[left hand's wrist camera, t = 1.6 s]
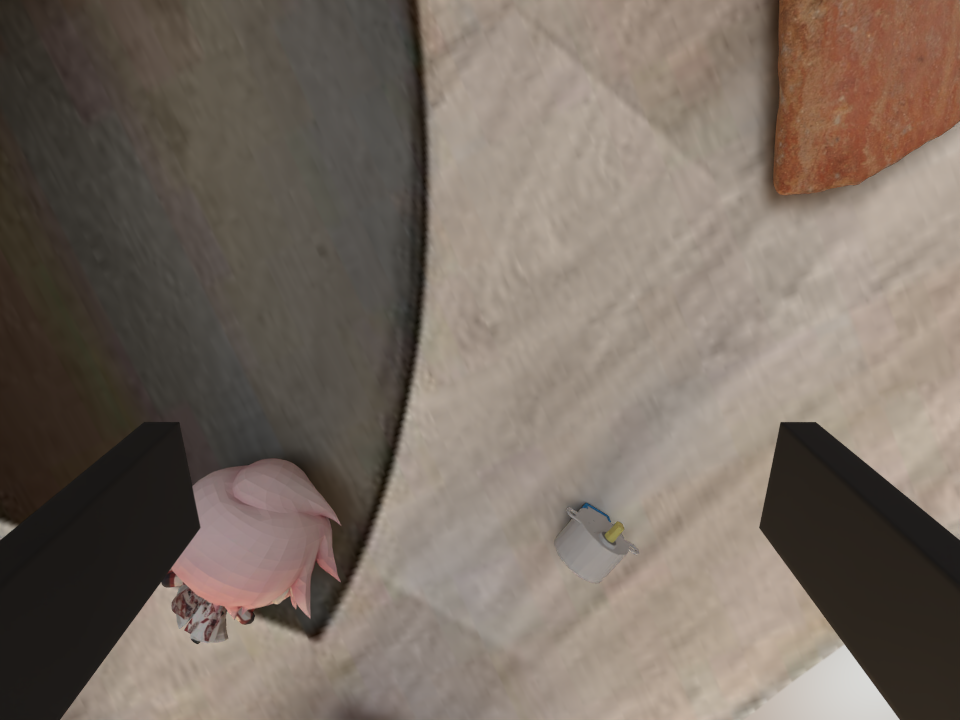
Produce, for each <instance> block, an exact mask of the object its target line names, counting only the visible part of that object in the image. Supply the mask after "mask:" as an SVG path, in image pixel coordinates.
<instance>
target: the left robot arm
mask: <svg viewBox="0 0 960 720" xmlns="http://www.w3.org/2000/svg"><path fill="white" fill-rule="evenodd" d="M200 528H201V527H200V522H199V517H198V512H197V507H196V502H195V497H194V492H193V488H192V483H191V478H190V473H189V468H188V463H187V458H186V453H185V448H184V443H183V438H182V433H181V428H180V423H179V422H144V423H143V424H141V425H140V426H139V427H138V428H137V429H135V430H134V431H133V432H132V433H130V434H129V435H128V436H127V437H126V438H124V439H123V440H122V441H121V442H120V443H118V444H117V445H116V446H115V447H113V448H112V449H111V450H110V451H109V452H107V453H106V454H105V455H104V456H102V457H101V458H100V459H99V460H98V461H96V462H95V463H94V464H93V465H91V466H90V467H89V468H88V469H87V470H85V471H84V472H83V473H82V474H81V475H79V476H78V477H77V478H76V479H74V480H73V481H72V482H71V483H70V484H68V485H67V486H66V487H65V488H63V489H62V490H61V491H60V492H59V493H57V494H56V495H55V496H54V497H52V498H51V499H50V500H49V501H48V502H46V503H45V504H44V505H43V506H42V507H40V508H39V509H38V510H37V511H35V512H34V513H33V514H32V515H31V516H29V517H28V518H27V519H26V520H24V521H23V522H22V523H21V524H20V525H18V526H17V527H16V528H15V529H13V530H12V531H11V532H10V533H9V534H7V535H6V536H5V537H4V538H3V539H1V540H0V720H60V719H61V718H62V716H63V715H64V714H65V712H66V711H67V710H68V708H69V707H70V705H71V704H72V703H73V701H74V700H75V699H76V697H77V696H78V695H79V693H80V692H81V690H82V689H83V688H84V686H85V685H86V684H87V682H88V681H89V680H90V678H91V677H92V675H93V674H94V673H95V671H96V670H97V669H98V667H99V666H100V665H101V663H102V662H103V660H104V659H105V658H106V656H107V655H108V654H109V652H110V651H111V650H112V648H113V647H114V645H115V644H116V643H117V641H118V640H119V639H120V637H121V636H122V634H123V633H124V632H125V630H126V629H127V628H128V626H129V625H130V624H131V622H132V621H133V619H134V618H135V617H136V615H137V614H138V613H139V611H140V610H141V609H142V607H143V606H144V604H145V603H146V602H147V600H148V599H149V598H150V596H151V595H152V594H153V592H154V591H155V589H156V588H157V587H158V585H159V584H160V583H161V581H162V580H163V579H164V577H165V576H166V574H167V573H168V572H169V570H170V569H171V568H172V566H173V565H174V564H175V562H176V561H177V559H178V558H179V557H180V555H181V554H182V553H183V551H184V550H185V549H186V547H187V546H188V544H189V543H190V542H191V540H192V539H193V538H194V536H195V535H196V534H197V532H198V531H199V529H200ZM759 528H760V529H761V531H762V532H763V534H764V535H765V536H766V538H767V539H768V540H769V542H770V543H771V544H772V546H773V547H774V549H775V550H776V551H777V553H778V554H779V555H780V557H781V558H782V559H783V561H784V562H785V564H786V565H787V566H788V568H789V569H790V570H791V572H792V573H793V574H794V576H795V577H796V579H797V580H798V581H799V583H800V584H801V585H802V587H803V588H804V589H805V591H806V592H807V594H808V595H809V596H810V598H811V599H812V600H813V602H814V603H815V604H816V606H817V607H818V609H819V610H820V611H821V613H822V614H823V615H824V617H825V618H826V619H827V621H828V622H829V624H830V625H831V626H832V628H833V629H834V630H835V632H836V633H837V634H838V636H839V637H840V639H841V640H842V641H843V643H844V644H845V645H846V647H847V648H848V650H849V651H850V652H851V653H852V655H853V656H854V658H855V659H856V660H857V662H858V663H859V665H860V666H861V667H862V669H863V670H864V671H865V673H866V674H867V675H868V677H869V678H870V679H871V681H872V682H873V684H874V685H875V686H876V688H877V689H878V690H879V692H880V693H881V694H882V696H883V697H884V699H885V700H886V701H887V703H888V704H889V705H890V707H891V708H892V710H893V711H894V712H895V714H896V715H897V716H898V718H899V719H900V720H960V540H959V539H957V538H956V537H955V536H954V535H953V534H951V533H950V532H949V531H948V530H947V529H945V528H944V527H943V526H942V525H940V524H939V523H938V522H937V521H936V520H934V519H933V518H932V517H931V516H929V515H928V514H927V513H926V512H925V511H923V510H922V509H921V508H920V507H918V506H917V505H916V504H915V503H914V502H912V501H911V500H910V499H909V498H908V497H906V496H905V495H904V494H903V493H901V492H900V491H899V490H898V489H897V488H895V487H894V486H893V485H892V484H890V483H889V482H888V481H887V480H886V479H884V478H883V477H882V476H881V475H879V474H878V473H877V472H876V471H875V470H873V469H872V468H871V467H870V466H869V465H867V464H866V463H865V462H864V461H862V460H861V459H860V458H859V457H858V456H856V455H855V454H854V453H853V452H851V451H850V450H849V449H848V448H847V447H845V446H844V445H843V444H842V443H840V442H839V441H838V440H837V439H836V438H834V437H833V436H832V435H831V434H830V433H828V432H827V431H826V430H825V429H823V428H822V427H821V426H820V425H819V424H817V423H816V422H781V423H780V428H779V433H778V438H777V443H776V448H775V453H774V458H773V463H772V468H771V473H770V478H769V483H768V488H767V492H766V497H765V502H764V507H763V512H762V517H761V522H760V527H759Z"/></svg>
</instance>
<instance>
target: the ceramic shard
mask: <svg viewBox="0 0 960 720" xmlns="http://www.w3.org/2000/svg"><path fill="white" fill-rule="evenodd" d="M778 77H779V86H780V97H779V109H778V113H777V122H776V134H775V148H774V152H775V153H774V171H773V183H774V187H775V189H776V191H777V192H778V193H779V194H780V195H790V194H803V193H806V194H810V193H815V192H823V191H825V190H827V189H832V188H837V187H842V186H848V185H857V184H860V183H861V182H863V181H864V180H865V179H867V178H868V177H871V176H873V175H875V174H876V173H878V172H879V171H881V170H883V169H884V168H886V167H888V166H890V165H892V164H894V163H896V162H898V161H899V160H901V159H902V158H903V157H904V156H906V155H907V154H909V153H910V152H912V151H913V150H915V149H917V148H919V147H920V146H922V145H923V144H925V143H926V142H927V141H930V140H932V139H935V138H937V137H939V136H940V135H942V134H943V133H945V132H946V131H948V130H949V129H951V128H952V127H953V126H954V125H955V124H957V123H958V122H959V121H960V0H779V57H778Z"/></svg>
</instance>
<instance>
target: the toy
mask: <svg viewBox="0 0 960 720" xmlns="http://www.w3.org/2000/svg"><path fill="white" fill-rule="evenodd" d="M192 488H193V492H194V497H195V502H196V507H197V512H198V517H199V522H200V527H201V528H200V529H199V531H198V532H197V534H196V535H195V536H194V538H193V539H192V540H191V542H190V543H189V544H188V546H187V547H186V549H185V550H184V551H183V553H182V554H181V555H180V557H179V558H178V559H177V561H176V562H175V564H174V565H173V566H172V568H171V569H170V570H169V572H168V573H167V574H166V576H165V577H164V579H163V580H162V581H161V582H162V585H163V586H164V587H176V586H182V585H183V586H182V587H180V588H179V590H178V593H177V595H176V597H175V598H174V600H173V601H172V611H173V612H174V613H175V614H176V617H177V623H178V627H179V629H180V628H181V627H183V626H184V625H185V624H186V623H187V622H188V621H189V620H190V619H191V618H192V619H191V620H190V622H189V623H188V625H187V627H186V628H185V631H187V632H188V633H190V634H191V636H190V638H191V640H192V641H193V642H194V643H196V644H199V643H200V642H205V643H215V642H221V641H225V640H227V639H228V635H227V630H226V612H227V611H228V612H229V613H230V615H231V616H232V617H233V618H234V620H235V618H236V619H237V620H238V621H239V622H240V623H241V624H244V625H246V624H250V623H252V622H253V621H254V617H255V615H254V613H253V611H254V609H255V608H259V607H263V606H267V605H270V604H273V603H274V604H279V603H281V601H282V600H284V599H286V598H287V597H289V596H291V602H292V605H293V607H295V608H297V605H298V606H299V607H300V608H301V610H302V611H303V612H304V613H305V614H306V615H307V616H308V617H309V618H310V579H311V574H312V571H313V568H314V566H315V562H317V563H318V565H319V566H320V567H321V568H323V569H324V570H325V571H326V572H328V573H329V574H330V575H332V576H333V577H334V578H336V579H337V580H338V581H340V579H339V577H338V575H337V569H336V564H335V560H334V555H333V549H332V529H331V524H330V520H329V518H331V519H333V520H334V521H336V522H337V523H338V524H339V525H341V524H340V522H339V520H338V518H337V516H336V514H335V512H334V511H333V509H332V508H331V507H330V505H329V504H328V503H327V501H326V500H325V499H324V498H323V497H322V495H321V494H320V493H319V492H318V491H317V490H316V488H315V487H314V485H313V484H312V483H311V482H310V480H309V479H308V477H307V476H306V474H305V473H304V471H302V470H301V469H300V468H299V467H297V466H296V465H295V464H293V463H291V462H289V461H286V460H282V459H276V458H271V459H262V460H259V461H257V462H254V463H252V464H250V465H244V466H236V467H229V468H224V469H221V470H218V471H215V472H212V473H210V474H209V475H207V476H205V477H204V478H202V479H201V480H199V481H198V482H197V483H196V484H194V485H193V486H192ZM249 609H252V610H251V611H250V610H249ZM310 619H311V618H310Z"/></svg>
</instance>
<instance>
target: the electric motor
mask: <svg viewBox="0 0 960 720" xmlns="http://www.w3.org/2000/svg"><path fill="white" fill-rule="evenodd" d="M570 511H571V512H573V513H574V514H575V516H574V515H572V513H571V512H570ZM566 512H567V514H568V515H569V516H570V517H571V518H572V519H571V520H570V522H569V523H568V524H567V525H566V526H565V528H564V529H563V530H562V531H561V532H560V534H559V535H558V536H557V537H556V539H555V547H556V550H557V553H558V555H559V557H560V558H561V559H562V561H563V562H564V563H565V564H566V565H567V566H568V567H569V569H570V570H571V571H572V572H574V573H575V574H576V575H577V576H579V577H580V578H582V579H584V580H586V581H588V582H591V583H600V582H601V581H602V580H603V579H604V578H605V577H606V576H607V575H608V574H609V572H610V571H611V570H612V569H613V568H614V567H615V566H616V565H617V564H618V563H619V562H620V561H621V559H622V558H623V557H624V556H625V555H626V554H627V553H628V551H629V552H631V553H633V554H635V555H638V554H639V550H638V549H637V548H636V547H635V545H634V544H632V543H630V542H628V541H627V540H625V539H624V537H623V536H622V534H621V533H622V532H623V530H624V527H623V524H621V523H620V522H618V521H617V522H616V523H615V524H614V525H613V524H611V523H610V522H611V521H610V518H609V516H607V515H606V514H604V513H603V512H601V511H599V510H598V509H596V508H594V507H593V506H591V505H589V504H587V503H585V504H584V505H583V507H582V508H581V509H580V510H579V511H578V512H577V511H575V510H574V509H572V508H570V507H567V508H566ZM630 546H632V547H633V548H634V549H635V551H634V550H633V549H632V548H631V547H630Z"/></svg>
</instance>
